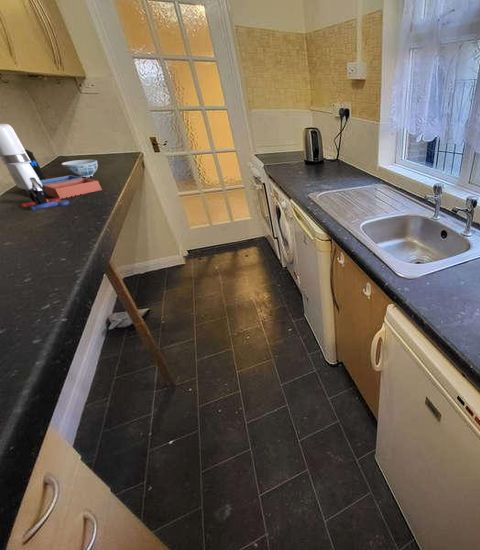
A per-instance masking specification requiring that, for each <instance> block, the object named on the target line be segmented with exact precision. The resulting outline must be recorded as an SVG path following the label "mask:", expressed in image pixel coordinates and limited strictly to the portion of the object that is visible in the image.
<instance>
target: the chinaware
mask: <svg viewBox="0 0 480 550" xmlns="http://www.w3.org/2000/svg"><path fill="white" fill-rule="evenodd" d="M98 165H99V164H98V160H96V159H77V160H69V161H65V162H62V163H61V166H62V167H63V169H64V170H66V171H67V172H68V173H70V174H71V175H73V176H77V177H86V178H91V177H90V176H92V177H94V176H95V175H94V174H96V172H97V170H98V167H99V166H98ZM93 175H94V176H93Z"/></svg>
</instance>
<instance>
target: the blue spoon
mask: <svg viewBox="0 0 480 550" xmlns="http://www.w3.org/2000/svg"><path fill="white" fill-rule="evenodd" d="M69 203H70V201H69V199H63V200H62V199H61V201H58V202H56V201H53V202H48V203H44V204H39V205H32V206H29V210H31V211H36V210H41V209H45V208H50V207H58V205H62V206H67V205H70V204H69Z"/></svg>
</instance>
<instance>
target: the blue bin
mask: <svg viewBox="0 0 480 550" xmlns="http://www.w3.org/2000/svg"><path fill="white" fill-rule="evenodd" d="M78 179H83V178H82V177H78V176H77V175H74V174H69V175H63V176H58V177H51V178H46V179H45V180H40V181H41V183H42V188H41V189H42V193H43V195H44V196H48V194H47V193H46V191H45V189H44V187H43V186H44V185H50V184H55V183H61V182H67V181H72V180H78ZM32 189H33V188H32Z"/></svg>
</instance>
